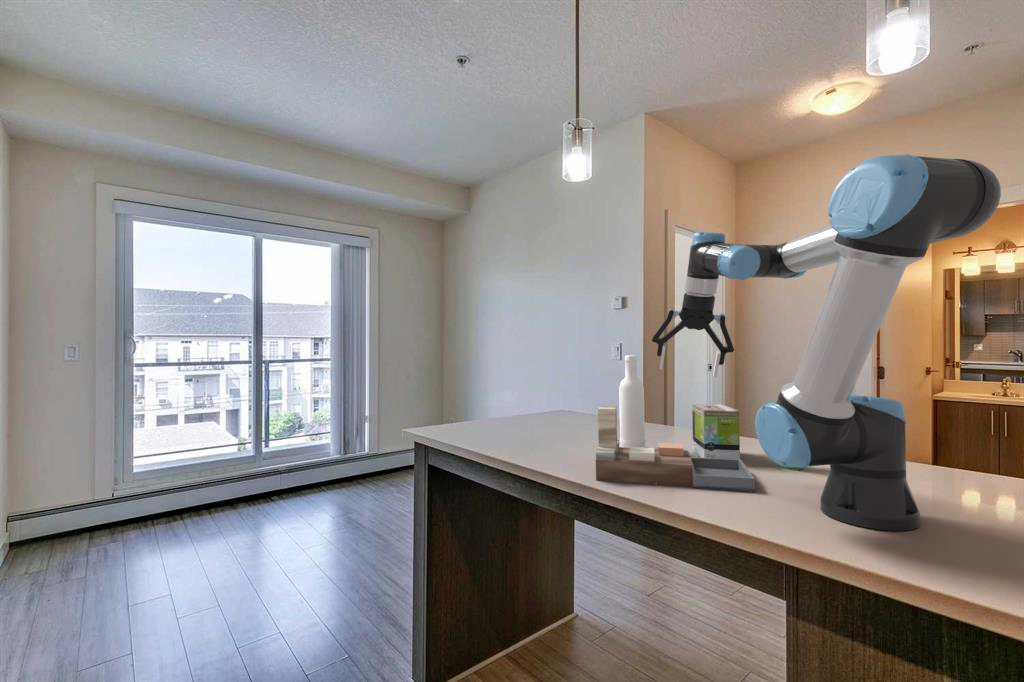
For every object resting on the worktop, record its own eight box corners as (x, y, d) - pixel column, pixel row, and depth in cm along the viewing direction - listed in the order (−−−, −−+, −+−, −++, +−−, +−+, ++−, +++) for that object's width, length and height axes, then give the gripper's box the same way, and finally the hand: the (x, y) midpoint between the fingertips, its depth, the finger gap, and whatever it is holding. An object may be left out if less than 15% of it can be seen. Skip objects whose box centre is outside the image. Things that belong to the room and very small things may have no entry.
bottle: (627, 445, 157) (625, 355, 157) (649, 448, 152) (647, 355, 152) (615, 449, 151) (613, 355, 151) (638, 452, 146) (636, 355, 146)
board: (692, 486, 110) (692, 465, 110) (596, 480, 117) (595, 459, 117) (688, 469, 126) (687, 450, 126) (603, 464, 132) (602, 446, 132)
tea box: (741, 463, 131) (740, 410, 131) (703, 462, 133) (702, 409, 133) (725, 451, 146) (724, 403, 146) (691, 450, 148) (690, 403, 148)
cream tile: (654, 461, 114) (654, 453, 114) (629, 460, 116) (628, 452, 116) (654, 456, 120) (654, 448, 120) (630, 454, 122) (630, 447, 122)
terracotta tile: (683, 456, 119) (683, 448, 119) (658, 455, 121) (658, 447, 121) (682, 451, 125) (682, 443, 125) (658, 450, 126) (658, 442, 126)
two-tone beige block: (614, 460, 116) (613, 412, 116) (596, 459, 117) (595, 411, 117) (619, 447, 131) (618, 404, 131) (603, 446, 132) (602, 403, 132)
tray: (755, 491, 106) (754, 478, 106) (693, 487, 109) (692, 474, 109) (741, 471, 123) (741, 459, 123) (688, 468, 127) (687, 457, 127)
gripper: (751, 296, 120) (736, 374, 126) (650, 286, 128) (641, 360, 134) (755, 301, 113) (739, 383, 119) (648, 291, 121) (638, 368, 127)
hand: (687, 371), depth 126 cm, fingers open, 13 cm apart
